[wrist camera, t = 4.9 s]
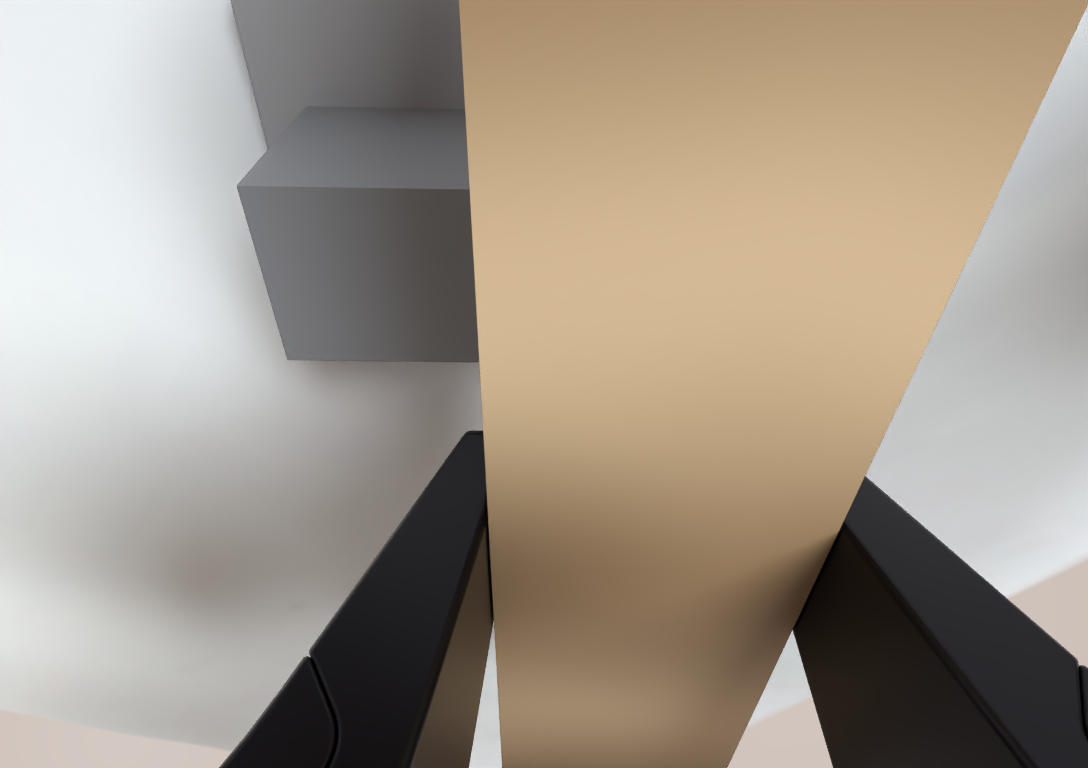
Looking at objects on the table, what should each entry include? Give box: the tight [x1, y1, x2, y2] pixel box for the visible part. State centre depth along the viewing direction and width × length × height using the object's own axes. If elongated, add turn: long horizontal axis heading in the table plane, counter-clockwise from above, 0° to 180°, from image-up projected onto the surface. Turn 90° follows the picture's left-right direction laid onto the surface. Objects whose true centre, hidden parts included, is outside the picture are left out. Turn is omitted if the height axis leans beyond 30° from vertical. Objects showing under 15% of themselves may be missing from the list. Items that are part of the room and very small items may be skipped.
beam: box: [459, 0, 1088, 768], centre depth 9 cm, size 20×4×4 cm, turn 179°
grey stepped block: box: [231, 0, 479, 362], centre depth 14 cm, size 14×8×5 cm, turn 89°
